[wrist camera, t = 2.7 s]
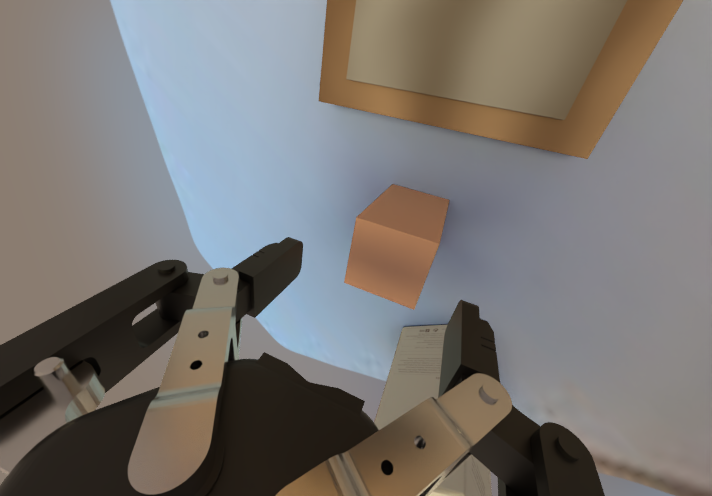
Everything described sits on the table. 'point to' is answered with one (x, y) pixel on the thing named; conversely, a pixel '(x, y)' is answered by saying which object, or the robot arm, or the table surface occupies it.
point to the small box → (416, 384)
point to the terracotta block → (396, 244)
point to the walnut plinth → (492, 64)
